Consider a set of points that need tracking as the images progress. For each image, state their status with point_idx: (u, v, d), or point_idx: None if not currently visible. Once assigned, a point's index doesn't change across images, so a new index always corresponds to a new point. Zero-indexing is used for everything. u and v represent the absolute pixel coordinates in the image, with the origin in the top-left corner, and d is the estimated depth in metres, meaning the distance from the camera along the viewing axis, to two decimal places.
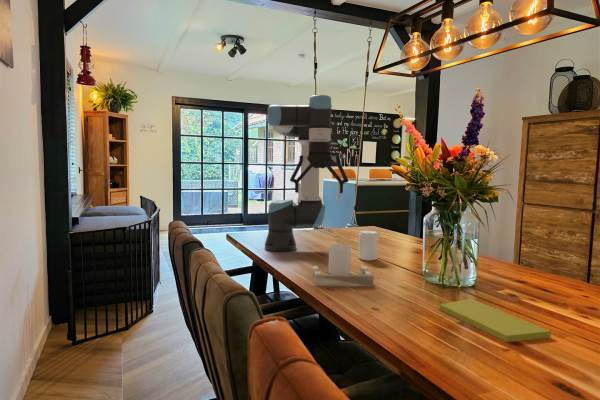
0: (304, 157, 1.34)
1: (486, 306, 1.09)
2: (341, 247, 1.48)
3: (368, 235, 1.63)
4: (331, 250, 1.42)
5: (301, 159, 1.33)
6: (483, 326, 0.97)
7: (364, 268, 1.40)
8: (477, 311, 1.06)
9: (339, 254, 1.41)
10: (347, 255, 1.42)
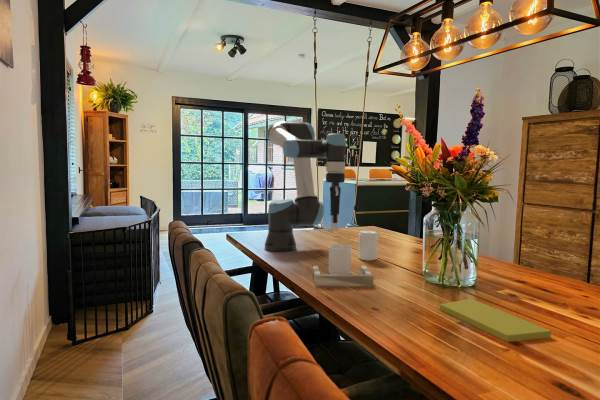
0: None
1: (486, 306, 1.09)
2: (341, 247, 1.48)
3: (368, 235, 1.63)
4: (331, 250, 1.42)
5: None
6: (484, 326, 0.97)
7: (364, 268, 1.40)
8: (477, 311, 1.06)
9: (339, 254, 1.41)
10: (347, 255, 1.42)
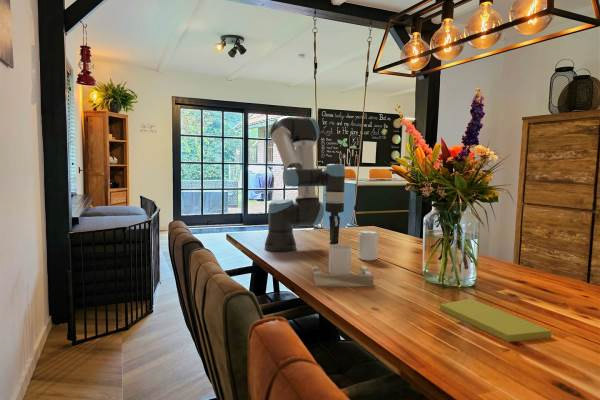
0: None
1: (486, 306, 1.09)
2: (341, 247, 1.48)
3: (368, 235, 1.63)
4: (331, 250, 1.42)
5: None
6: (484, 326, 0.97)
7: (364, 268, 1.40)
8: (477, 311, 1.06)
9: (339, 254, 1.41)
10: (347, 255, 1.42)
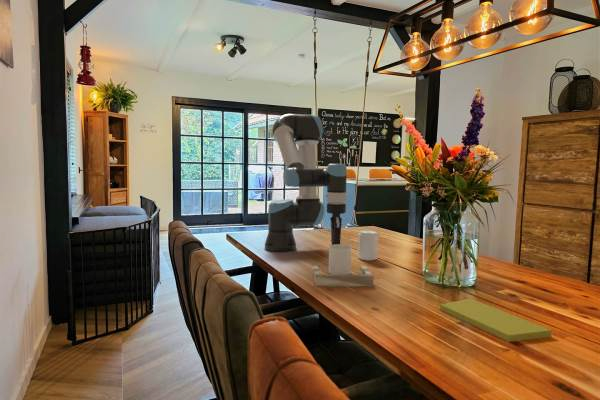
0: None
1: (486, 306, 1.09)
2: (341, 247, 1.48)
3: (368, 235, 1.63)
4: (331, 250, 1.42)
5: None
6: (485, 326, 0.97)
7: (364, 268, 1.40)
8: (477, 311, 1.06)
9: (339, 254, 1.41)
10: (347, 255, 1.42)
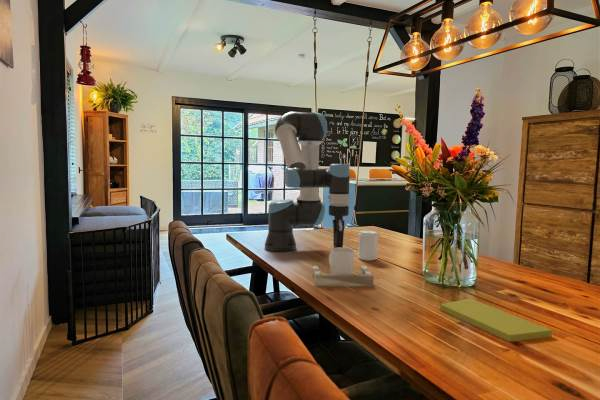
0: None
1: (486, 306, 1.09)
2: (341, 250, 1.43)
3: (368, 235, 1.63)
4: (334, 254, 1.36)
5: None
6: (485, 326, 0.97)
7: (364, 268, 1.40)
8: (477, 310, 1.06)
9: (344, 258, 1.35)
10: (351, 258, 1.37)
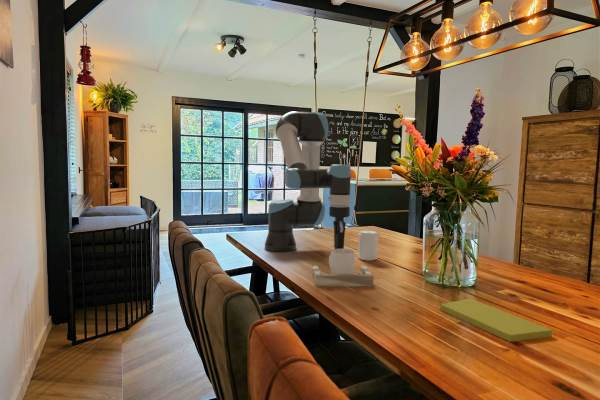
0: None
1: (486, 306, 1.09)
2: (342, 251, 1.41)
3: (368, 235, 1.63)
4: (335, 255, 1.34)
5: None
6: (486, 325, 0.97)
7: (364, 268, 1.40)
8: (477, 310, 1.06)
9: (345, 259, 1.33)
10: (352, 260, 1.35)
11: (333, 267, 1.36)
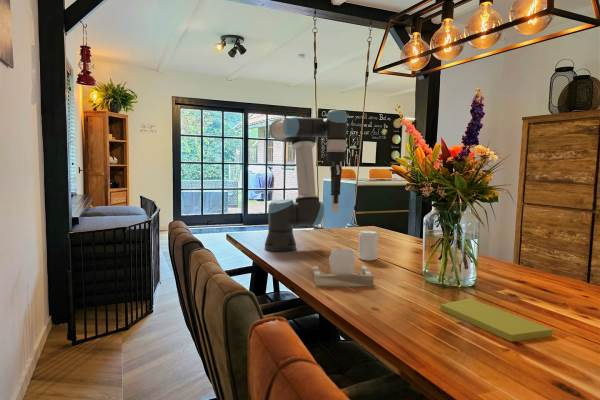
0: None
1: (486, 306, 1.10)
2: (342, 251, 1.41)
3: (368, 235, 1.63)
4: (335, 255, 1.34)
5: None
6: (486, 325, 0.97)
7: (364, 268, 1.40)
8: (478, 310, 1.06)
9: (345, 259, 1.33)
10: (352, 260, 1.35)
11: (333, 267, 1.36)
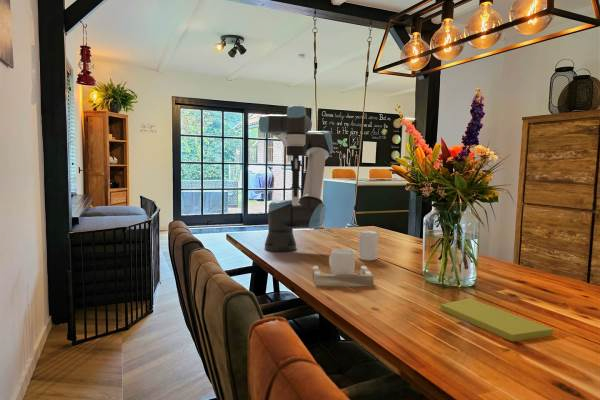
0: None
1: (486, 305, 1.10)
2: (342, 251, 1.41)
3: (368, 235, 1.63)
4: (335, 255, 1.34)
5: None
6: (487, 325, 0.97)
7: (364, 268, 1.40)
8: (478, 310, 1.06)
9: (345, 259, 1.33)
10: (352, 260, 1.35)
11: (333, 267, 1.36)
